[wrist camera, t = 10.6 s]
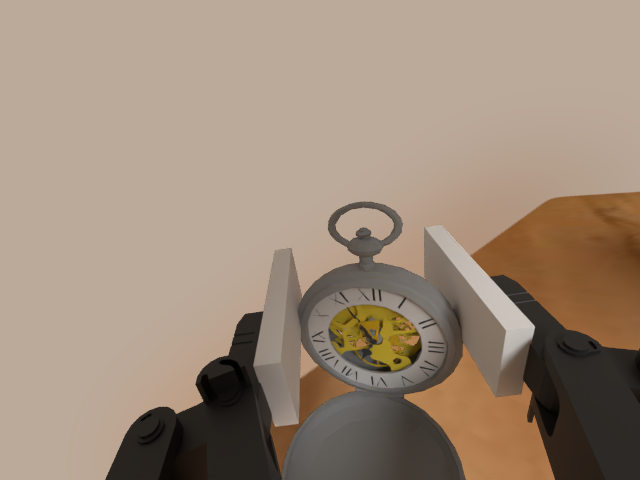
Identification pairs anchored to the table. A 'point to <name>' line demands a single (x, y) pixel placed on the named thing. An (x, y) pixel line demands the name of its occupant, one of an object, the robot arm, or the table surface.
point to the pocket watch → (375, 369)
